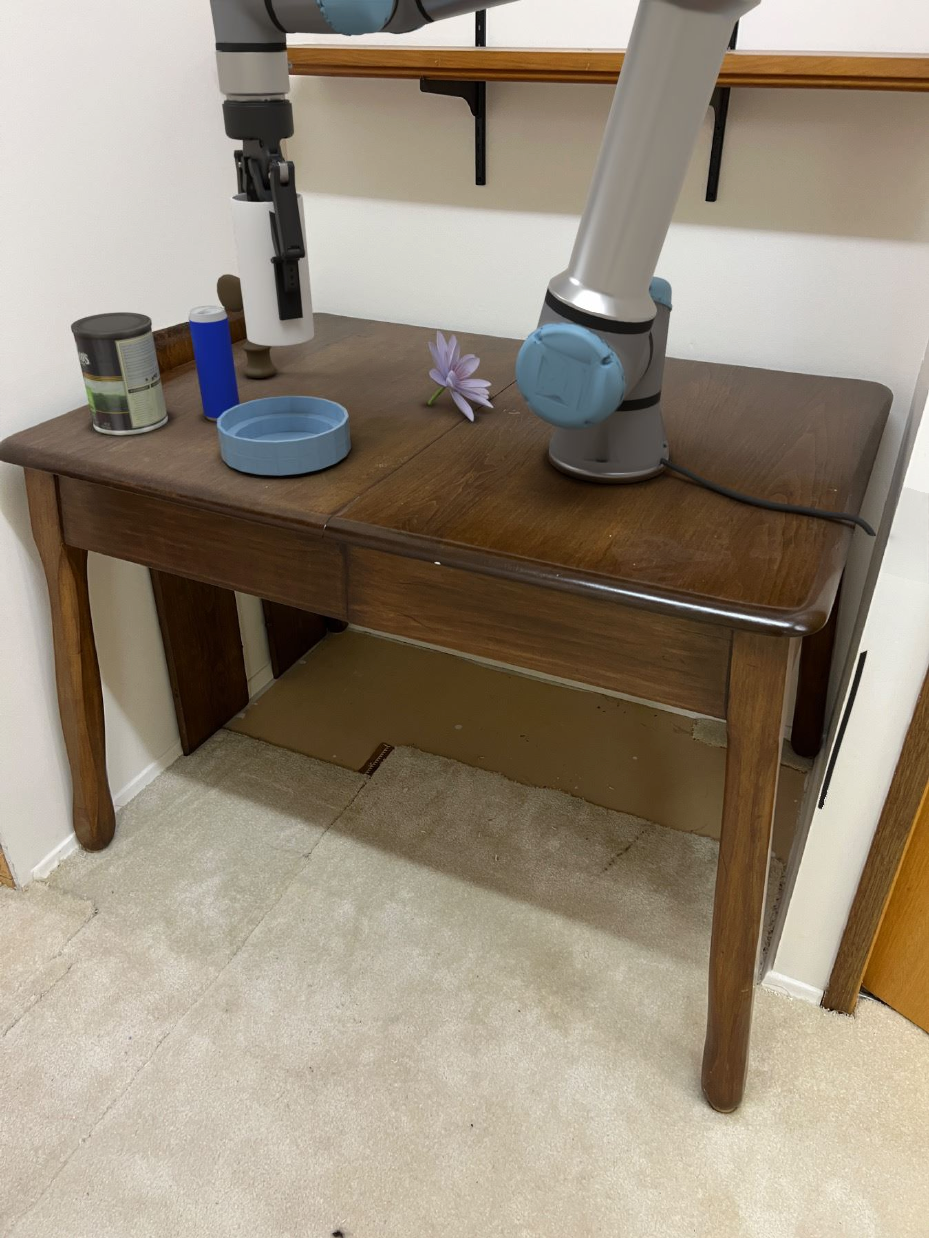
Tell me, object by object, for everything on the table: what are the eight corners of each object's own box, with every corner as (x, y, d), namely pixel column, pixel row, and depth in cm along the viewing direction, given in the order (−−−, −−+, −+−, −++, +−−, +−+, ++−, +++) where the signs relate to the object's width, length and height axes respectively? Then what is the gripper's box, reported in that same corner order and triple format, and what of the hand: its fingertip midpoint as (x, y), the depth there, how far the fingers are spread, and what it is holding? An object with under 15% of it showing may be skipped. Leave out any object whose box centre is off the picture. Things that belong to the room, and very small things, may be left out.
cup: (308, 346, 113) (295, 202, 104) (240, 346, 113) (222, 202, 104) (319, 327, 120) (308, 191, 111) (255, 327, 120) (239, 191, 111)
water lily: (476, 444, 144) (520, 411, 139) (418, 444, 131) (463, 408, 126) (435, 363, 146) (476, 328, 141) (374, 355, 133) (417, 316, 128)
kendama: (294, 370, 153) (281, 240, 142) (254, 386, 146) (237, 251, 135) (266, 364, 156) (251, 236, 145) (226, 380, 149) (207, 247, 138)
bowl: (371, 463, 121) (369, 425, 118) (246, 490, 114) (241, 451, 111) (321, 422, 133) (318, 388, 130) (206, 445, 126) (200, 409, 123)
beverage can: (222, 407, 138) (206, 303, 130) (248, 413, 136) (234, 308, 128) (196, 418, 134) (179, 311, 126) (223, 425, 132) (207, 317, 124)
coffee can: (95, 440, 127) (71, 336, 120) (92, 415, 136) (69, 316, 128) (172, 430, 130) (154, 328, 123) (165, 406, 139) (147, 309, 131)
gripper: (325, 103, 96) (340, 326, 108) (258, 91, 111) (278, 288, 124) (254, 105, 93) (278, 335, 105) (195, 93, 108) (222, 294, 121)
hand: (278, 309), depth 114 cm, fingers closed on cup, 8 cm apart
